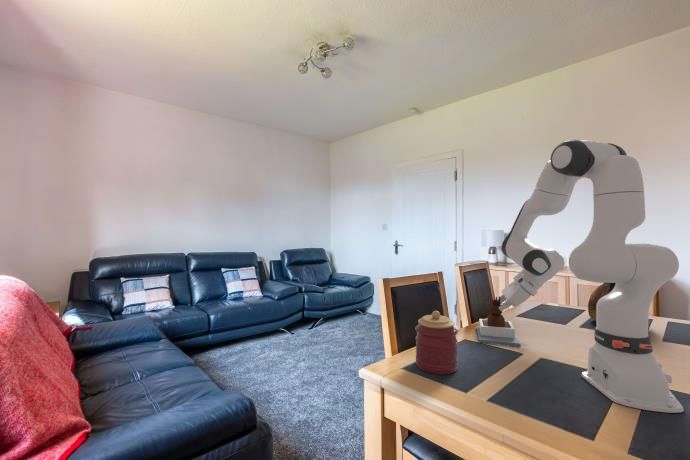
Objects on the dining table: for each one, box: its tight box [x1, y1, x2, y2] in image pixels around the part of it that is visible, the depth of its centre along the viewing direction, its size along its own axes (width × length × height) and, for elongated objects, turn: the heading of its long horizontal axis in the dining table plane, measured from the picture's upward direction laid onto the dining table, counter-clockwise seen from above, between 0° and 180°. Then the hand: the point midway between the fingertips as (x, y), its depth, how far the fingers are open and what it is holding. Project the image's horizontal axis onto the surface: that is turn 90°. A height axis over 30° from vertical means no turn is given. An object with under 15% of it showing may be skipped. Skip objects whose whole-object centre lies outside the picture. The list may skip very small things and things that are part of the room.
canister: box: [415, 310, 459, 375], centre depth 103 cm, size 13×13×18 cm
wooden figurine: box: [486, 295, 506, 328], centre depth 131 cm, size 7×6×15 cm
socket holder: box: [476, 318, 521, 348], centre depth 129 cm, size 18×14×5 cm
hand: (498, 306), depth 130 cm, fingers open, 8 cm apart
